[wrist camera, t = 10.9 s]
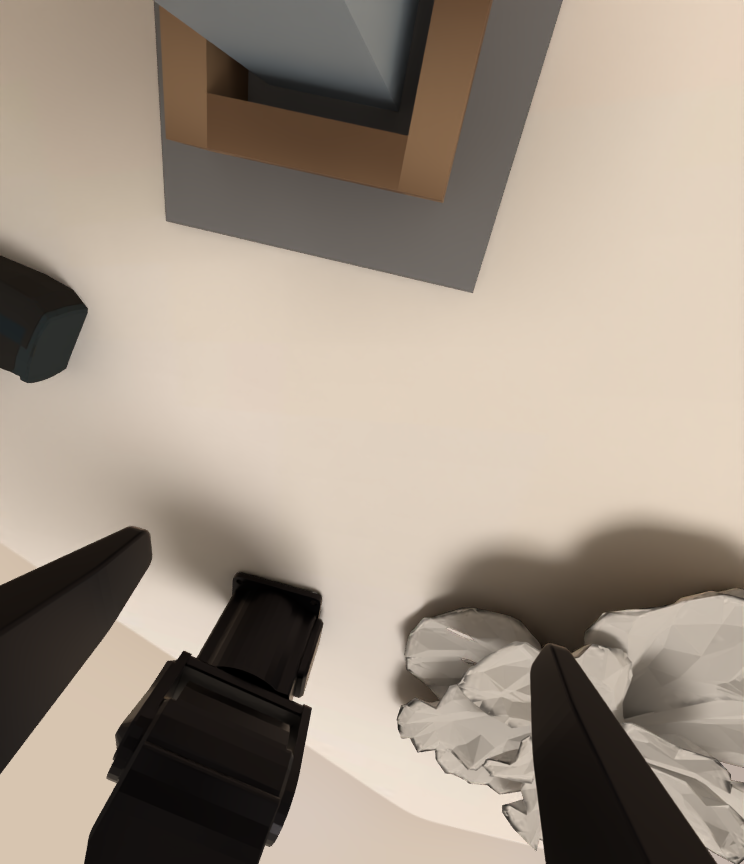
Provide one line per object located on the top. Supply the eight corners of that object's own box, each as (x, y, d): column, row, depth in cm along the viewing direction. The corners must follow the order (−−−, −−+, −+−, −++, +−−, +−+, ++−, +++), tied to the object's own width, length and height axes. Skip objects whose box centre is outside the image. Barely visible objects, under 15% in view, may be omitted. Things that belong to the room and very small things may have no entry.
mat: (472, 291, 18) (472, 292, 17) (171, 220, 18) (166, 221, 18) (679, -384, 10) (687, -406, 9) (138, -458, 11) (127, -481, 10)
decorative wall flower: (362, 840, 32) (440, 589, 17) (376, 741, 38) (443, 492, 23) (768, 957, 29) (1271, 777, 15) (714, 831, 35) (1032, 613, 21)
